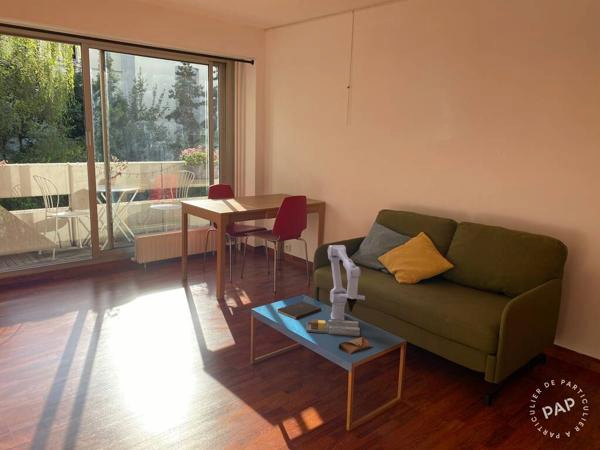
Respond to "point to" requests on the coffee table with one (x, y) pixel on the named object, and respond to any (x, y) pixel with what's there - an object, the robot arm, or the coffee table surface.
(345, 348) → the sunglasses case
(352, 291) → the robot arm
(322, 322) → the mustard cube
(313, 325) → the walnut cube
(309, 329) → the tray
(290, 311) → the hardcover book
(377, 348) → the coffee table surface
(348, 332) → the channel
